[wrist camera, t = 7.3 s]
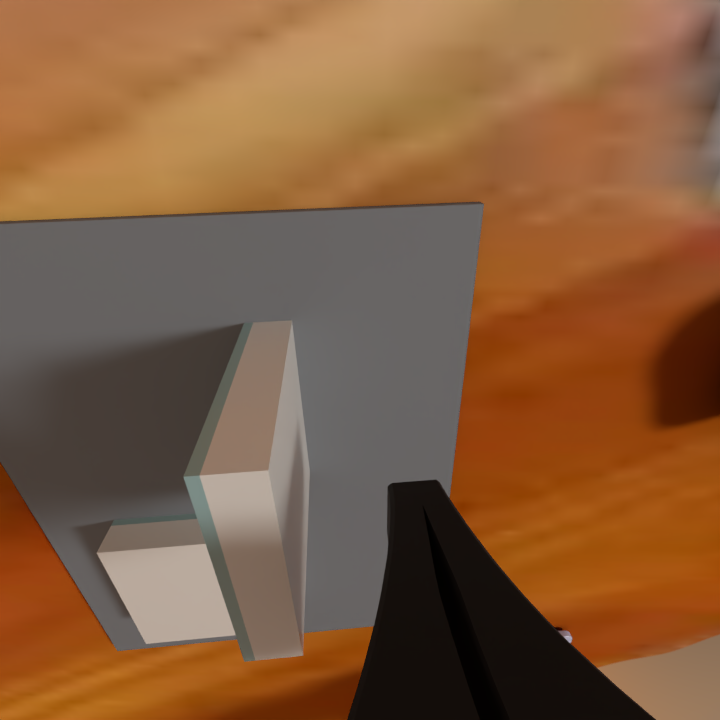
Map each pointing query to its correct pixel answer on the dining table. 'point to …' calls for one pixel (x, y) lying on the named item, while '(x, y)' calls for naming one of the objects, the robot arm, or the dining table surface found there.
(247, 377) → the tile
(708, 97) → the dining table surface
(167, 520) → the tile
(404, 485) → the robot arm
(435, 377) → the mat
